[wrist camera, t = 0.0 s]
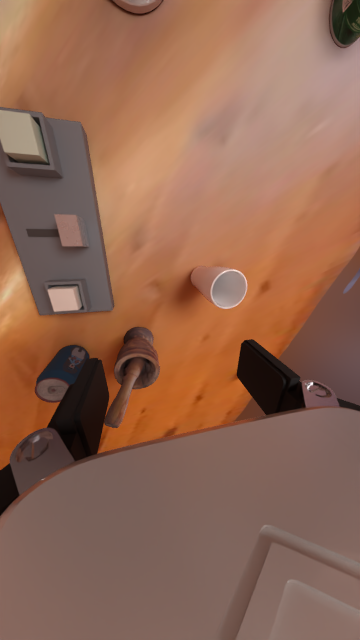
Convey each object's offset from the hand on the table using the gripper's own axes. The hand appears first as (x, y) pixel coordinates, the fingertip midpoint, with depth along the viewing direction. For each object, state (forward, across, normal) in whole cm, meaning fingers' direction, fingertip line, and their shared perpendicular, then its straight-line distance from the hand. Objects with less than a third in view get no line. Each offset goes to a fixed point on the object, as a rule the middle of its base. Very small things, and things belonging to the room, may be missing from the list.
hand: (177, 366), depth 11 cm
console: (+31, +16, -10) cm, 36 cm away
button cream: (+27, +16, +1) cm, 31 cm away
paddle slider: (+28, +13, -10) cm, 32 cm away
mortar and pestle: (+31, +5, +16) cm, 36 cm away
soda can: (+31, +20, +17) cm, 41 cm away
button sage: (+27, +16, -21) cm, 38 cm away
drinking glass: (+31, -12, -1) cm, 34 cm away
